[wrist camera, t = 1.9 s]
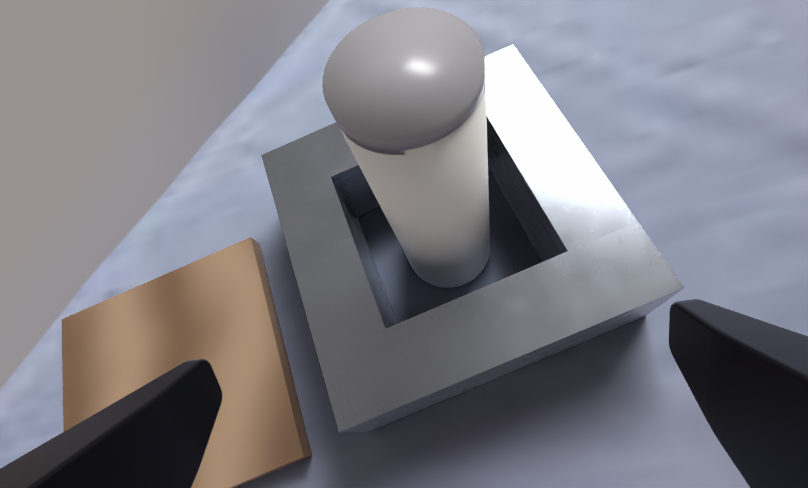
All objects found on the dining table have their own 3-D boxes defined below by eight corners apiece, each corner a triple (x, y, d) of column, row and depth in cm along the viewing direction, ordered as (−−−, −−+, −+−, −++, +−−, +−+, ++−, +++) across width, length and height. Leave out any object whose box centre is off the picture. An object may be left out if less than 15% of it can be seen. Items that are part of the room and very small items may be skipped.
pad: (84, 550, 21) (65, 556, 20) (76, 323, 26) (61, 319, 25) (311, 455, 21) (303, 456, 20) (259, 243, 26) (250, 237, 25)
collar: (369, 431, 21) (338, 432, 17) (297, 196, 27) (261, 155, 22) (646, 315, 20) (683, 287, 16) (510, 104, 26) (513, 44, 22)
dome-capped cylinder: (425, 300, 23) (350, 163, 11) (396, 230, 24) (304, 48, 13) (504, 267, 22) (514, 91, 11) (469, 199, 24) (445, -15, 13)
